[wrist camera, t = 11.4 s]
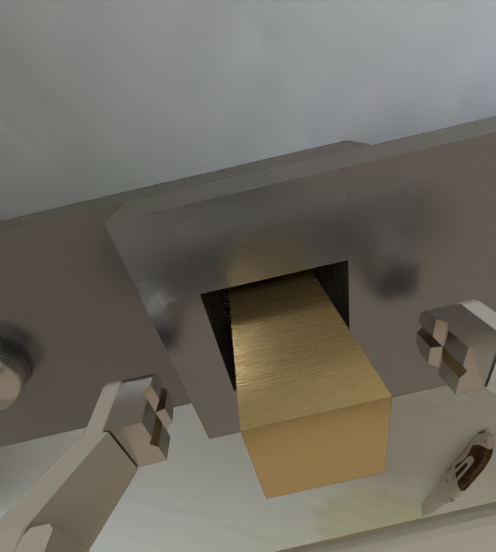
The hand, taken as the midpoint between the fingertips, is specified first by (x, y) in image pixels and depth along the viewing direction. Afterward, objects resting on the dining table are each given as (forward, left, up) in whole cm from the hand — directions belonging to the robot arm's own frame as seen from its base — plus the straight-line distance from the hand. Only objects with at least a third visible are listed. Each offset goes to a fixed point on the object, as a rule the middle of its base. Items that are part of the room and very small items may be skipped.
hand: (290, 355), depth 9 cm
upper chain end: (+6, 0, -5) cm, 8 cm away
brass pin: (0, 0, -5) cm, 5 cm away
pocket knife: (+13, -25, -6) cm, 29 cm away
